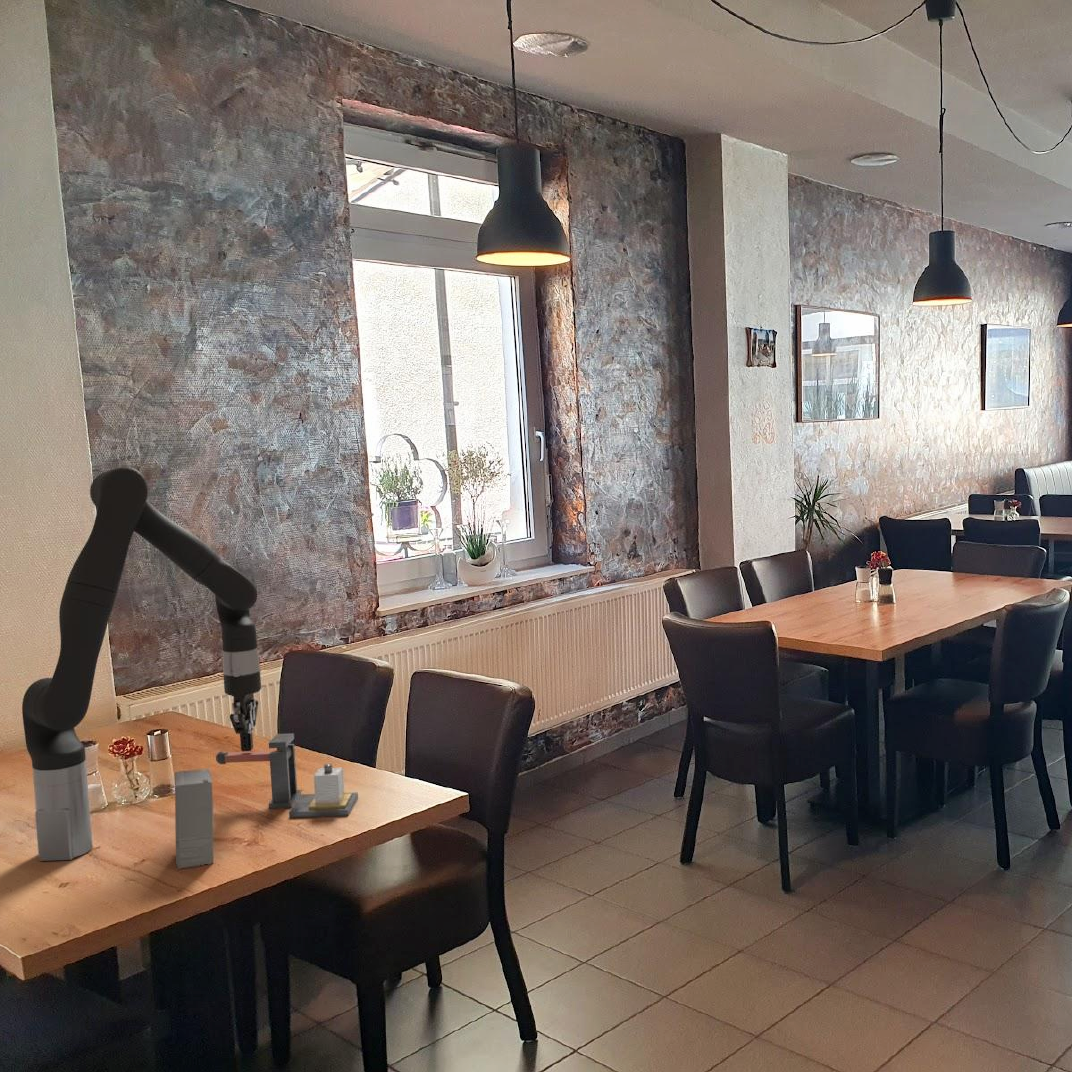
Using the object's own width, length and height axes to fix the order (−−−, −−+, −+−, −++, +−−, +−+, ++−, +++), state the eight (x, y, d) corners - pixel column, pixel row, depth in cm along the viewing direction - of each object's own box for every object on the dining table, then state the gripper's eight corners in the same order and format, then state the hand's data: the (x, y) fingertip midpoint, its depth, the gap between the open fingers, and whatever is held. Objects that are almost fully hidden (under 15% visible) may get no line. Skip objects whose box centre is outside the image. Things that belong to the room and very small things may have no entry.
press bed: (348, 815, 212) (344, 749, 211) (260, 818, 212) (256, 752, 211) (361, 792, 226) (357, 730, 225) (279, 795, 227) (275, 733, 226)
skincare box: (175, 854, 194) (169, 771, 193) (215, 848, 197) (209, 766, 196) (176, 871, 187) (170, 784, 185) (218, 864, 189) (212, 778, 188)
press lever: (286, 764, 220) (286, 751, 219) (213, 767, 220) (212, 754, 220) (291, 758, 224) (291, 746, 224) (219, 761, 224) (218, 748, 224)
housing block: (339, 803, 214) (337, 768, 214) (315, 804, 214) (313, 769, 214) (344, 795, 219) (342, 761, 219) (320, 796, 219) (318, 761, 219)
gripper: (233, 664, 227) (238, 742, 228) (214, 677, 214) (219, 760, 215) (267, 663, 227) (272, 740, 228) (250, 676, 214) (256, 758, 215)
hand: (247, 750), depth 222 cm, fingers closed
